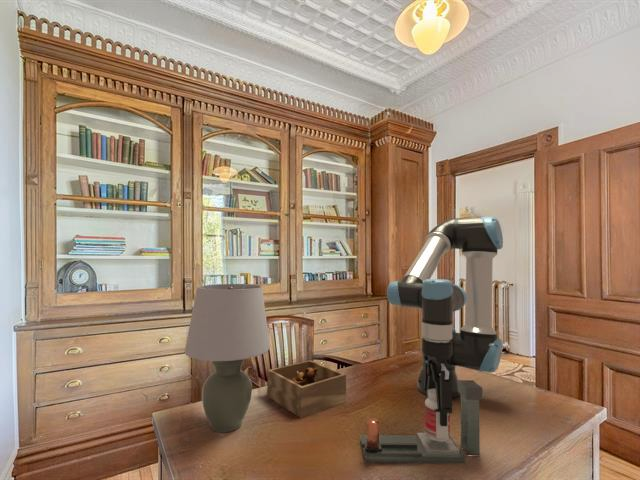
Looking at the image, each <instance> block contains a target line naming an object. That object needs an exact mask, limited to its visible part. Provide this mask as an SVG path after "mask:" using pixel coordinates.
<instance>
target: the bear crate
mask: <svg viewBox="0 0 640 480" xmlns="http://www.w3.org/2000/svg"><path fill="white" fill-rule="evenodd" d="M307 367H308V368H313V369H315V367H316V368H317V371H316V375H315V377H314V379H315V383H312V384H308V385H305V386H301V385H299V384H297V383H295V382H293V381H292V379H293V378H296V379H297V371H298V373H299V372H303V373H304V372H305V369H306V368H307ZM266 381H267V384H266V385H267V386H266V387H267V388H266V397H268V398H269V399H270V400H273V401H274V402H276V403H277V404H279V405H280V406H282V407H283V408H284V409H286V410H287V411H289V412H291V413H292V414H294V415H295V416H297V417H298V418H300V419H302V418H305V417H308V416H310V415H313V414H315V413H319V412H322V411H324V410H327V409H329V408H332V407H335V406H338V405H341V404H344V403H346V402H347V374H346V373H343V372H341V371H338V370H336V369H333V368H331V367H329V366H325V365H323V364H321V363H318V362H317V361H314V360H311V359H309V360H305V361H300V362H296V363H292V364H287V365H283V366H279V367H274V368H271V369H267V380H266Z"/></svg>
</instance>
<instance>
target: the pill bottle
mask: <svg viewBox="0 0 640 480" xmlns="http://www.w3.org/2000/svg"><path fill="white" fill-rule="evenodd" d="M435 409H438V406H437V397H436V389H429V390H428V397H426V399H425V400H424V430H423V431H424V433H425V435H426V436H427V437H428V438H430V439H432V440H435V441H439V442H443V441H447V440H448V439H449V438H450V437H451V434H450V433H451V421H450V420H451V418H450V417H451V413H448V438H437V437H436V412H435Z"/></svg>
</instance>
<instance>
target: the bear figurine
mask: <svg viewBox="0 0 640 480" xmlns="http://www.w3.org/2000/svg"><path fill="white" fill-rule="evenodd" d="M316 371H317V368H316V367H315V369H313V368H308V367H307V368H306V369H305V372H304V373H303V372H299V373H298V371H297V379H296V378H293V379H292V381H293V382H295V383H297V384H299V385H301V386H305V385H308V384H312V383H315V379H314V377H315V375H316Z"/></svg>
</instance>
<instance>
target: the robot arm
mask: <svg viewBox="0 0 640 480" xmlns="http://www.w3.org/2000/svg"><path fill="white" fill-rule="evenodd" d="M423 243H424V244H423V246H422V248H421V249H420V251H419V252H418V254H417V256H416V257H415V259H414V261H412V263H411V265H410V267H409V268H408V270H407V272H406V273H405V274H404V276H403V277H402V279H401V280H400V281H399V280H395V281H391V282H389V283H388V286H387V290H386V297H387V300H388V303H389V304H391V305H392V306H399V307H406V308H413V309H414V308H416V309H421V317H422V319H421V336H422V339H421V355H422V358H421V359H422V368H421V369H420V373H419V376H418V379H417V389H418V391H420V392H421V393H423V394H424V395H426V398H428V390H429V389H436V397H437V406H438V409H435V412H436V437H437V438H448V413H450V414H452V413H453V398H452V397H454V398H456V397H455V396H458V395H459V394H460V393H459V392H458V380H459V379H458V376H457V372H456V367H460V368H466V369H469V370H475V371H479V372H480V373H481V372H485V373H492V374H493V373H494V372H496V371H497V370H498V368H499V366H500V364H501V363H500V362H501V359H502V353H503V341H502V339H500V338H499V337H498V335H497V334H498V333H497V331H496V330H495V329H494V328H493V260H494V258H495V257H496V256H497V255H498V250H501V249H503V247H504V246H503V243H504V239H503V232H502V227H501V224H500V222H499V220H498V219H497V218H496V217H495V216H482V215H481V216H474V217H473V216H472V217H459V218H458V217H456V218H450V219H446V220H444V221H442V222H441V223H439V224H437V225H436V226H435V227H433V228H431V230H430V231H429V232H428V233H427V234H426V237H425V238H424V242H423ZM455 249H456V250H461V254H462V255H463V256H464V258H465V259H466V260H465V261H466V263H465V264H466V265H465V290H464V288H463V287H461V286H460V285H458V284H454V283H453V282H452V281H451V280H449V279H444V278H443V279H441V278H432V277H433V275H434V273H435V271H436V270H437V268H438V265H439V263H440V262H441V260H442V258H443V256H444V255H445V254H447V253H448V252H449V251H450V250H455ZM464 306H465V315H464V323H465V324H464V325H463V326H462V327H460V330H459V331H460V332H457V331H456V329H455V327H454V326H453V312H456V311H457V312H458V311H459V310H461V309H462V308H463V307H464ZM460 395H461V394H460ZM460 395H459V396H460ZM459 396H458V397H459Z"/></svg>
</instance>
